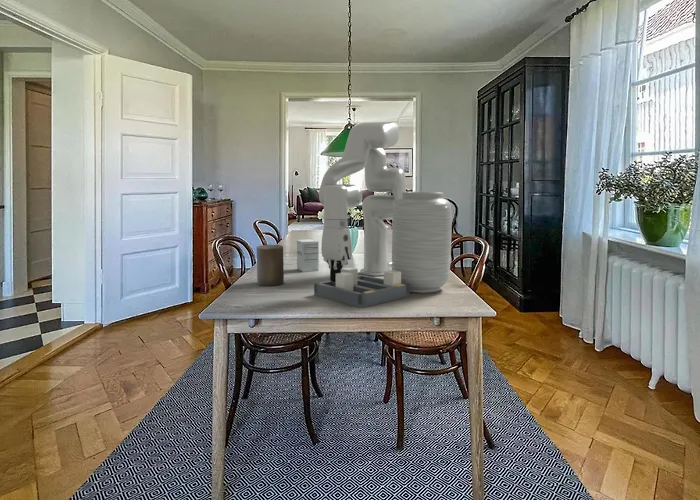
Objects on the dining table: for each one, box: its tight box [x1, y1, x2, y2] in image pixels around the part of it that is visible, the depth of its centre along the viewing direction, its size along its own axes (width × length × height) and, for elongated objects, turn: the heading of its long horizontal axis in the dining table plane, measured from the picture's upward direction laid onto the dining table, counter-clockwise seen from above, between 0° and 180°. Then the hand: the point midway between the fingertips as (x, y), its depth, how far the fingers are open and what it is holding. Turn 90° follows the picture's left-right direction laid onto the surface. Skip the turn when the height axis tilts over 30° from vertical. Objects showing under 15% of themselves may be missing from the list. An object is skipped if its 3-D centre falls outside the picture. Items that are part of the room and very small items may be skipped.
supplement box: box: [296, 238, 320, 273], centre depth 203 cm, size 7×7×13 cm
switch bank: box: [313, 274, 410, 309], centre depth 159 cm, size 22×22×4 cm
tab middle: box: [341, 267, 359, 285], centre depth 163 cm, size 4×4×7 cm
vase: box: [391, 191, 453, 294], centre depth 168 cm, size 20×20×34 cm
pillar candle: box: [255, 242, 285, 287], centre depth 176 cm, size 10×10×15 cm
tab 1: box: [336, 272, 354, 291], centre depth 154 cm, size 4×4×7 cm
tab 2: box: [383, 269, 401, 286], centre depth 158 cm, size 4×4×7 cm
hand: (335, 280), depth 157 cm, fingers closed
